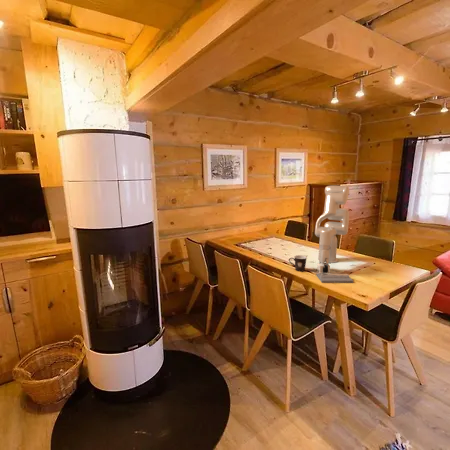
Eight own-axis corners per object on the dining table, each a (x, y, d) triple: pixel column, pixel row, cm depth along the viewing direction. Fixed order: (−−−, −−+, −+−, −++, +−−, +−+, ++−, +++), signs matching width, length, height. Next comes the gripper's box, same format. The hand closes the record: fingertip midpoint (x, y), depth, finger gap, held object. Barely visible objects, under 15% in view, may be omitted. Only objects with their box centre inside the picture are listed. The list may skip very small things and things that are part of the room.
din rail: (320, 276, 183) (320, 273, 183) (347, 276, 183) (347, 273, 182) (321, 277, 181) (321, 275, 181) (348, 277, 180) (349, 275, 180)
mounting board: (316, 275, 188) (316, 273, 188) (345, 275, 188) (346, 273, 187) (321, 282, 177) (321, 280, 176) (353, 282, 176) (353, 280, 175)
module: (317, 270, 199) (317, 262, 198) (326, 270, 199) (327, 262, 198) (319, 273, 193) (320, 264, 192) (329, 273, 193) (330, 264, 192)
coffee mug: (308, 270, 199) (308, 256, 198) (302, 273, 194) (302, 259, 192) (294, 266, 208) (294, 253, 206) (288, 269, 202) (288, 256, 200)
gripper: (315, 243, 201) (314, 266, 204) (323, 250, 184) (321, 274, 187) (326, 243, 201) (324, 266, 204) (334, 250, 184) (332, 274, 187)
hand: (323, 270), depth 196 cm, fingers open, 8 cm apart
